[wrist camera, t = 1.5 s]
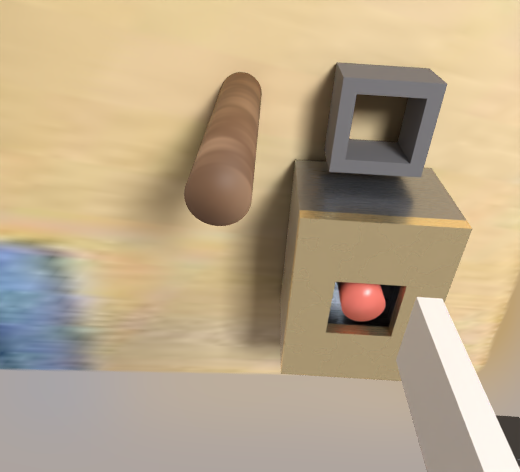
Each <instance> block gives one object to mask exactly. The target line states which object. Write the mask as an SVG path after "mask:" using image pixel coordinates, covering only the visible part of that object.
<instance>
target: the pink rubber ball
mask: <svg viewBox="0 0 520 472" xmlns="http://www.w3.org/2000/svg"><path fill="white" fill-rule="evenodd" d="M337 285H338V290H339V296H340V302H341V307H342V311H343V313H344V315H345V316H346V317H348V318H349V319H351V320H354V321H369V320H372V319H374V318H376V317H378V316H379V315H380V314H381V313H382V312H383V310H384V308H385V299H384V295H383V292H382V289H381V285H380V284H365V283H349V282H337Z"/></svg>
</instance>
